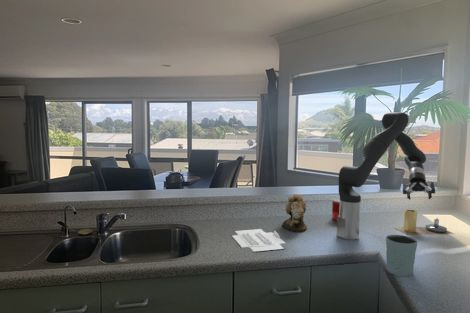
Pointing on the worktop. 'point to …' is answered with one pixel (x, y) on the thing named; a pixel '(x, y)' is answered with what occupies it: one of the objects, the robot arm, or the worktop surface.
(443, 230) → the disc
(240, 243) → the white paper stack
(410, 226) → the brass sleeve
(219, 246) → the worktop surface
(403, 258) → the pale green pot
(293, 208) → the brown bust statue
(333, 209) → the canned food
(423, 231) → the walnut board
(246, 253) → the worktop surface
